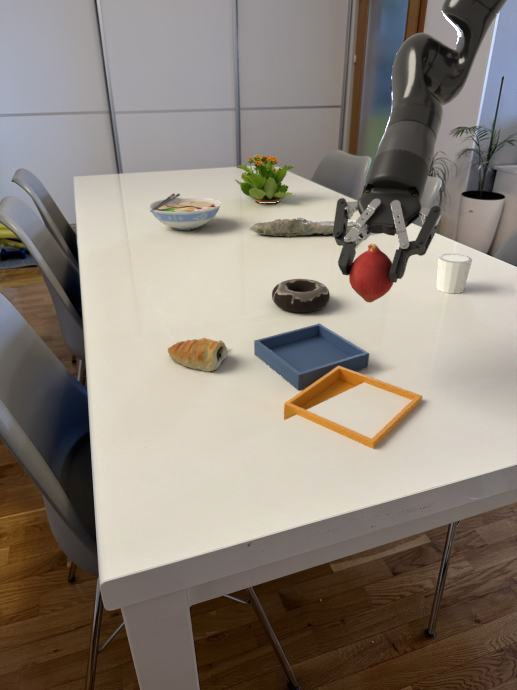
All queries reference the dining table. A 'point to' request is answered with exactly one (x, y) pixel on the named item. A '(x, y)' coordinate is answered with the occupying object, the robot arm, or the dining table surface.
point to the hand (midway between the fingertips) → (368, 275)
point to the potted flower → (264, 180)
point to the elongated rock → (296, 227)
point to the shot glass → (452, 272)
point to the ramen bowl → (185, 211)
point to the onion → (371, 274)
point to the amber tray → (335, 385)
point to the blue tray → (309, 354)
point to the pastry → (199, 353)
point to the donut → (300, 295)
